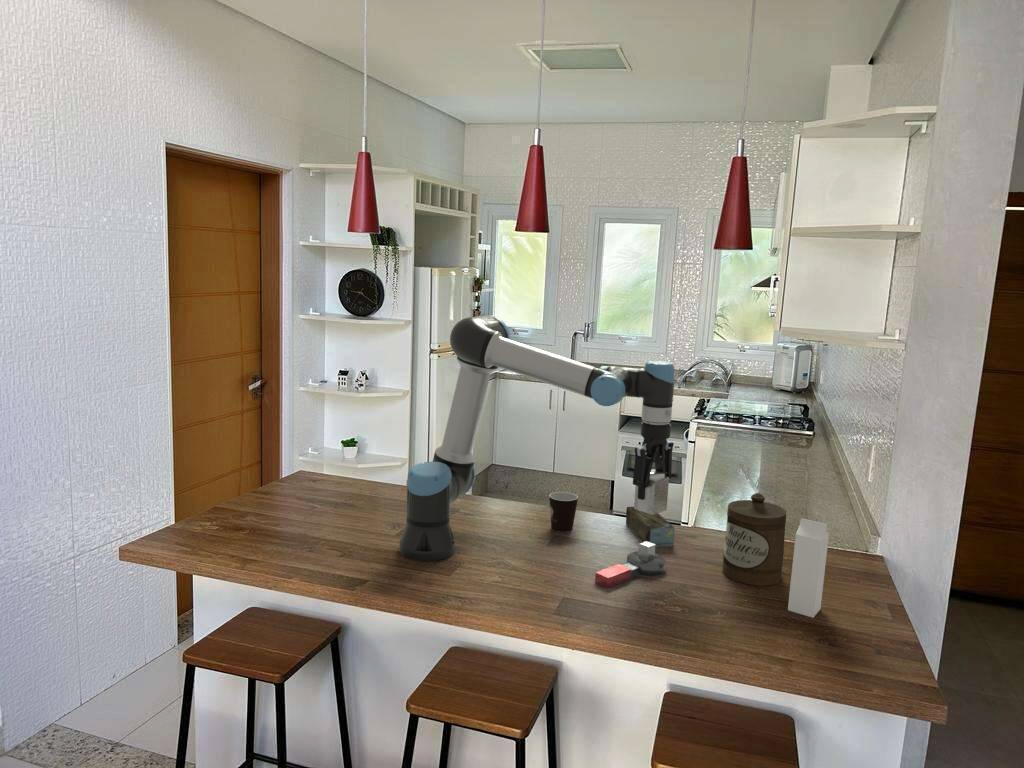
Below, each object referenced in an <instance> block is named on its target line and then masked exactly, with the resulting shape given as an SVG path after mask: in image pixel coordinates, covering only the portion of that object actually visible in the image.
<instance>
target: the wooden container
mask: <svg viewBox="0 0 1024 768" xmlns="http://www.w3.org/2000/svg"><path fill="white" fill-rule="evenodd" d="M765 500H766V498H765V496H764V495H763V494H762V493H759V492H756V493H753V494H752V495H751V496H750V499H740V500H733V501H730V502H729V503H728V505H727V513H726V515H727V516H726V526H725V535H724V543H723V544H724V545H723V554H722V555H723V557H722V567H721V568H722V569H721V570H722V573H723V574H724V575H725V576H727V577H728V578H730V579H731V580H734V581H736V582H738V583H742V584H745V585H746V584H747V585H751V586H758V587H759V586H762V587H763V586H770V585H771V586H772V585H775V584H779V582H780V581H781V580H782V573H783V563H784V555H785V554H784V551H785V537H786V536H785V535H786V534H785V533H786V524H787V523H786V520H787V511H786V509H785V508H783V507H781V506H780V505H777V504H775V503H771V502H767V501H765Z"/></svg>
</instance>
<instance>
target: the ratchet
mask: <svg viewBox="0 0 1024 768" xmlns="http://www.w3.org/2000/svg"><path fill="white" fill-rule="evenodd" d="M666 562H667V561H666V558H665V557H664V556H662V555H660V554H659V553H656V547H655V544H652V543H650V542H647V541H646V542H644V541H643V542H641V543H639V544H638V551H633V552H630V553H629V554H627V557H626V563H624V564H619V563H617V564H614V565H612V566H609V567H606V568H603V569H602V570H599V571H596V572H595V575H594V583H595V584H598V585H600V586H603V587H604V588H607V589H608V588H611V587H615V586H616V585H619V584H621V583H624V582H626V581H629V580H631V579H632V578H634V577H637V576H639V575H643V576H657V575H661V574H663V573H665V570H666Z"/></svg>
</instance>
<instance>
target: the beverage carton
mask: <svg viewBox="0 0 1024 768" xmlns="http://www.w3.org/2000/svg"><path fill="white" fill-rule="evenodd" d="M625 511H626V512H625V514H626V515H625V525H626V526H627V528H629V529H630V530H631V531H632V532H633V533H634V534H635V535H636V536H637V535H638V536H639V537H638V536H637V537H638V538H639V539H641V541H643V542H646V541H647V542H650V543H652V544H655V546H666V547H674V545H675V531H676V528H675V527H674V525H672V524H671V523H670V522H669V521H667V520H666V518H664V517H663V516H662V515H661V514H660V513H657V514H654V515H652V514H648V513H645V512H642V511H639V510H636V509H634V506H627V507H626V510H625Z"/></svg>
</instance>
